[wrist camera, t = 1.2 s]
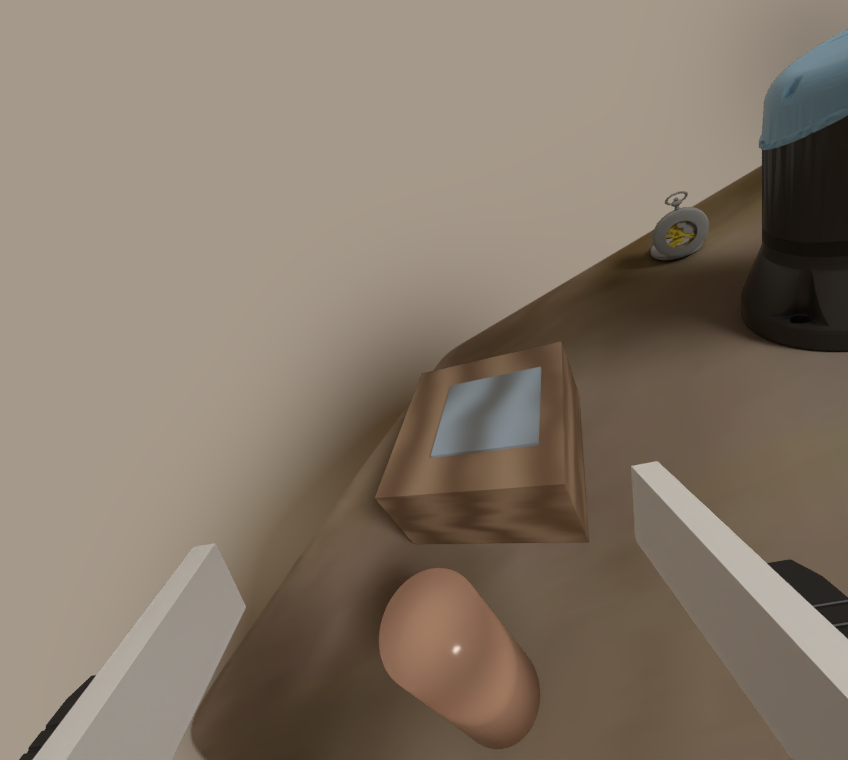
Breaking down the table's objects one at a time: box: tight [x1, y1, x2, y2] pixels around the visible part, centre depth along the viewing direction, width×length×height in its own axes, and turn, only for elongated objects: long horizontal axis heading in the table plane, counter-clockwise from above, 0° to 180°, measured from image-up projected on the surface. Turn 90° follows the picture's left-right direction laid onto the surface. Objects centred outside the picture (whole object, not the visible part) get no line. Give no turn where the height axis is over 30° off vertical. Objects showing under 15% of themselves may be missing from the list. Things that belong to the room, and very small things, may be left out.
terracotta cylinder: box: [379, 568, 540, 749], centre depth 26 cm, size 6×6×11 cm
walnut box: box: [375, 341, 589, 544], centre depth 42 cm, size 17×18×8 cm
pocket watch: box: [650, 191, 709, 260], centre depth 57 cm, size 8×8×10 cm
